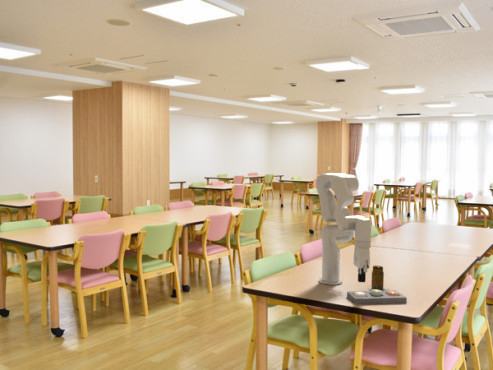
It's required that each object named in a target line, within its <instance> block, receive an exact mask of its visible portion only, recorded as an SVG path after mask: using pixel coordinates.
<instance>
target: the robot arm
mask: <svg viewBox="0 0 493 370" xmlns="http://www.w3.org/2000/svg"><path fill="white" fill-rule="evenodd" d="M315 179H316V180H315V187H316V192H317V194H318V197H319V203H320V213H321V219H322V221H323V222H324V223H336V224H327V225H323V226H322V228H321V229H320V236H321V249H322V250H321V254H322V255H321V257H322V258H321V259H322V260H321V277H319V278H318V282H319V283H321V284H324V285H329V286H331V285H332V286H337V285H341V284H342V283H343V280H342V279H341V278H340V272H341V271H340V269H341V267H340V265H341V263H340V261H341V251H340V248H339V246H338V245H337V243H344V242H345V243H347V242H350V241H352V239H353V235H354V253H353V265H354V266H355V267H356V268H357V281H358V283H366V276H367V275H366V274H367V273H368V270H369V269H370V268H371V267H370V265H371V255H370V253H371V252H370V251H371V250H370V249H371V247H372V246H371V245H372V243H371V242H372V220H371V218H366V217H365V216H364V215H352V214H351V210H350V208H349V206H350V205H352V204H353V203H354V201H355V197H354V195H353V192H356V191H358V189H359V186H360V183H359V179H358V178H357V176H355V175H353V174H350V173H349V174H348V173H342V172H341V173H340V172H337V173H335V172H327V173H320V174H319V175H318V176H317V177H316V178H315ZM330 189H332V190H333V191H332V190H330ZM353 232H354V233H353Z"/></svg>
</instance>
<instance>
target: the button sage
mask: <svg viewBox="0 0 493 370" xmlns="http://www.w3.org/2000/svg"><path fill="white" fill-rule="evenodd" d="M370 291H371V295H372V296H382V291H381V290H377V289H373V290H371V289H370Z"/></svg>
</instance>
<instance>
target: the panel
mask: <svg viewBox="0 0 493 370" xmlns="http://www.w3.org/2000/svg"><path fill="white" fill-rule="evenodd" d="M388 291H395V292H398V296H389V295H388V294H387V292H388ZM355 292H363V293H365V297H356V296H355ZM346 297H347V298H348V299H349V300H350V301H351V302H353V303H354V304H355V305H372V304H375V305H377V304H404V303H405V304H407V299H408V297H407V296H404V294H402V293H400V292H399V291H397V290H396V289H394V290H393V289H392V290H390V289H389V290H387V291H382V296H372V295H371V290H361V291H360V290H357V291H354V290H353V291H347V292H346Z"/></svg>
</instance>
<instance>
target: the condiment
mask: <svg viewBox="0 0 493 370" xmlns="http://www.w3.org/2000/svg"><path fill="white" fill-rule="evenodd" d="M384 275H385V273H384V266H382V265H373V266H372V271H371V286H370V287H369V288H368V290H370V291H371V290H373V289H377V290H381V291H390V288H386V287H385V288H384V281H385V280H384V278H385V277H384Z"/></svg>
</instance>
